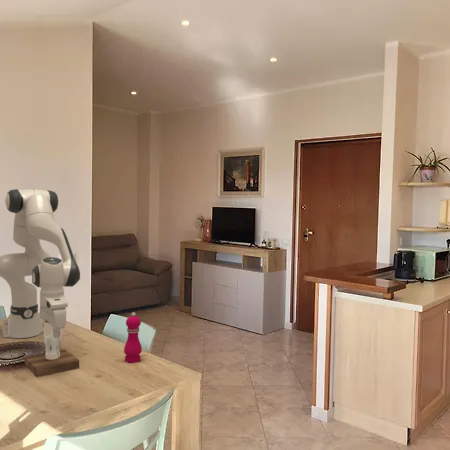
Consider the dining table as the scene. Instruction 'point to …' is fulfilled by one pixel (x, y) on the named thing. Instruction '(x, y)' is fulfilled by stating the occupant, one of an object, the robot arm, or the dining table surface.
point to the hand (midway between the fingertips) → (51, 334)
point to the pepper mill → (132, 339)
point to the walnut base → (51, 363)
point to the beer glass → (51, 343)
